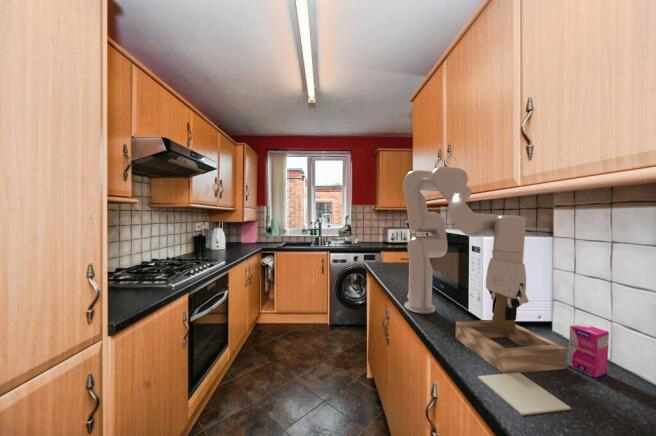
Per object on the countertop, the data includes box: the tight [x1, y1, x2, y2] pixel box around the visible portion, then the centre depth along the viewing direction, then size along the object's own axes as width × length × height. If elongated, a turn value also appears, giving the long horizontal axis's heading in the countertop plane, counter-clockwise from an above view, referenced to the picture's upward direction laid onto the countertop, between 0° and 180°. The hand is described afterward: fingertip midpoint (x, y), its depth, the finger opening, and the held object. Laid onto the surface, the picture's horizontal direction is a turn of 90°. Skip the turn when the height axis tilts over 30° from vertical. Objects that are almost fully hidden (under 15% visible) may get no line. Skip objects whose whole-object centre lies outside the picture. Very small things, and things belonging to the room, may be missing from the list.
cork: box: [491, 292, 516, 330], centre depth 77 cm, size 6×6×11 cm
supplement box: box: [567, 322, 610, 380], centre depth 68 cm, size 6×6×12 cm
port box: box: [455, 319, 567, 374], centre depth 76 cm, size 19×19×6 cm
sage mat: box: [477, 372, 572, 416], centre depth 59 cm, size 12×12×1 cm
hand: (503, 315), depth 77 cm, fingers closed on cork, 4 cm apart
